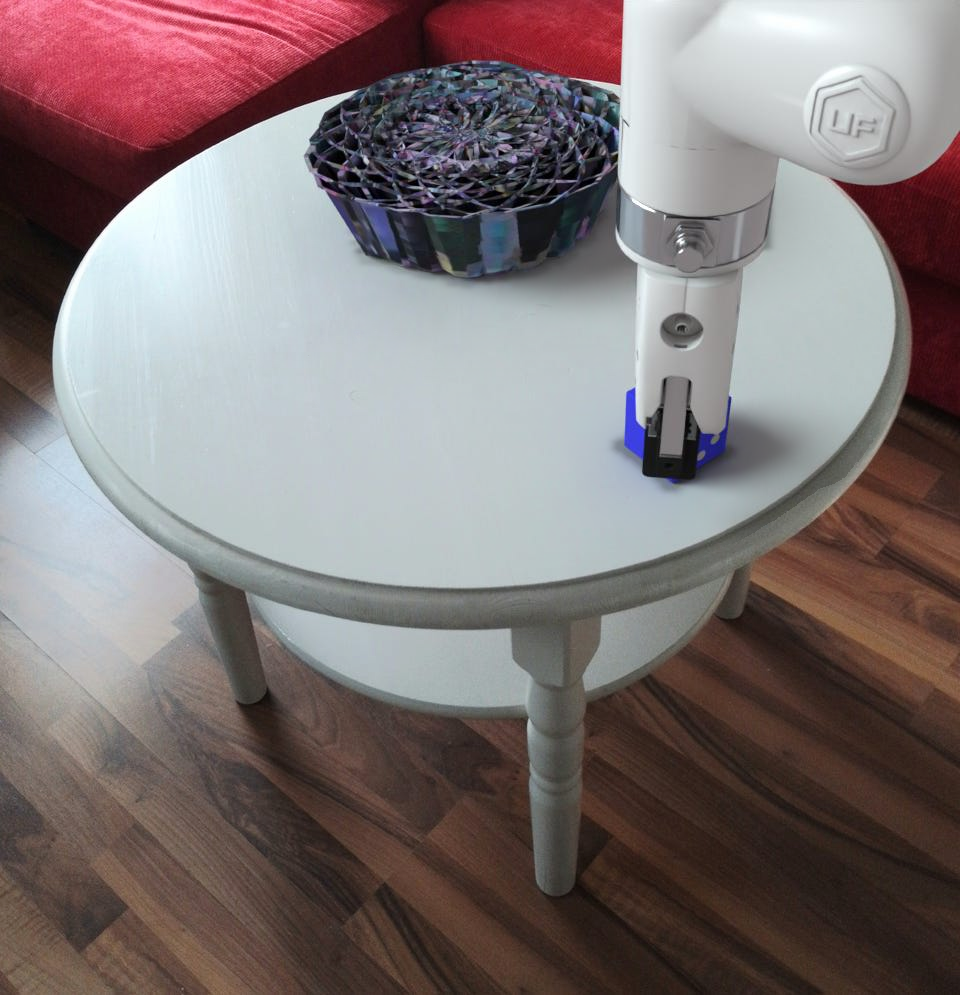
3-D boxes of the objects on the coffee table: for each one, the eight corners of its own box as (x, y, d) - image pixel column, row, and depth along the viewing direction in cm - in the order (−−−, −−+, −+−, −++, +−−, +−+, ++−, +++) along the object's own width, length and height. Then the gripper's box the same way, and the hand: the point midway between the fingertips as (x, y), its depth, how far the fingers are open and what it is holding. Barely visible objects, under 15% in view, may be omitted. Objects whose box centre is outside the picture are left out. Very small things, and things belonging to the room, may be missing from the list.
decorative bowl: (404, 144, 111) (384, 47, 104) (671, 159, 101) (669, 53, 95) (285, 290, 95) (252, 186, 88) (589, 324, 86) (579, 211, 79)
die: (622, 445, 77) (624, 391, 73) (675, 414, 78) (680, 359, 75) (672, 484, 74) (677, 430, 70) (726, 451, 76) (733, 396, 72)
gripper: (771, 305, 49) (728, 568, 62) (770, 134, 59) (733, 393, 72) (601, 295, 50) (595, 556, 63) (629, 130, 60) (618, 385, 73)
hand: (668, 468), depth 67 cm, fingers closed
